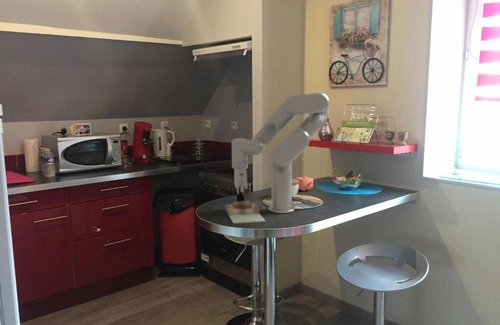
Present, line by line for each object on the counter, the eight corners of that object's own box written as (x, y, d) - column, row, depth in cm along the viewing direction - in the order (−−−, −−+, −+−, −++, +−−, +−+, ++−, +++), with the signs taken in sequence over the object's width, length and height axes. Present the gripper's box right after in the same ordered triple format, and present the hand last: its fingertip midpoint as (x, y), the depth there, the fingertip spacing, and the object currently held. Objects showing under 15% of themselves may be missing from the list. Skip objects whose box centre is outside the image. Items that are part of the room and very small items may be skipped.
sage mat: (259, 214, 195) (259, 213, 195) (265, 221, 184) (265, 220, 183) (229, 216, 192) (229, 215, 192) (233, 223, 181) (233, 222, 181)
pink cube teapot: (306, 192, 239) (306, 178, 238) (292, 189, 249) (292, 175, 247) (316, 191, 243) (317, 177, 242) (302, 187, 253) (303, 173, 252)
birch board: (254, 208, 206) (254, 203, 205) (259, 214, 195) (259, 209, 195) (225, 209, 203) (225, 204, 203) (229, 216, 192) (229, 210, 192)
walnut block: (248, 204, 203) (248, 200, 203) (251, 208, 196) (251, 204, 196) (232, 205, 201) (232, 201, 201) (234, 209, 195) (234, 205, 194)
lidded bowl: (297, 200, 221) (297, 179, 219) (273, 199, 224) (273, 178, 222) (299, 195, 233) (300, 175, 232) (277, 194, 236) (277, 174, 234)
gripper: (250, 166, 194) (250, 205, 197) (245, 162, 209) (245, 198, 212) (234, 167, 193) (234, 206, 196) (229, 162, 208) (230, 199, 210)
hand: (240, 202), depth 204 cm, fingers closed
